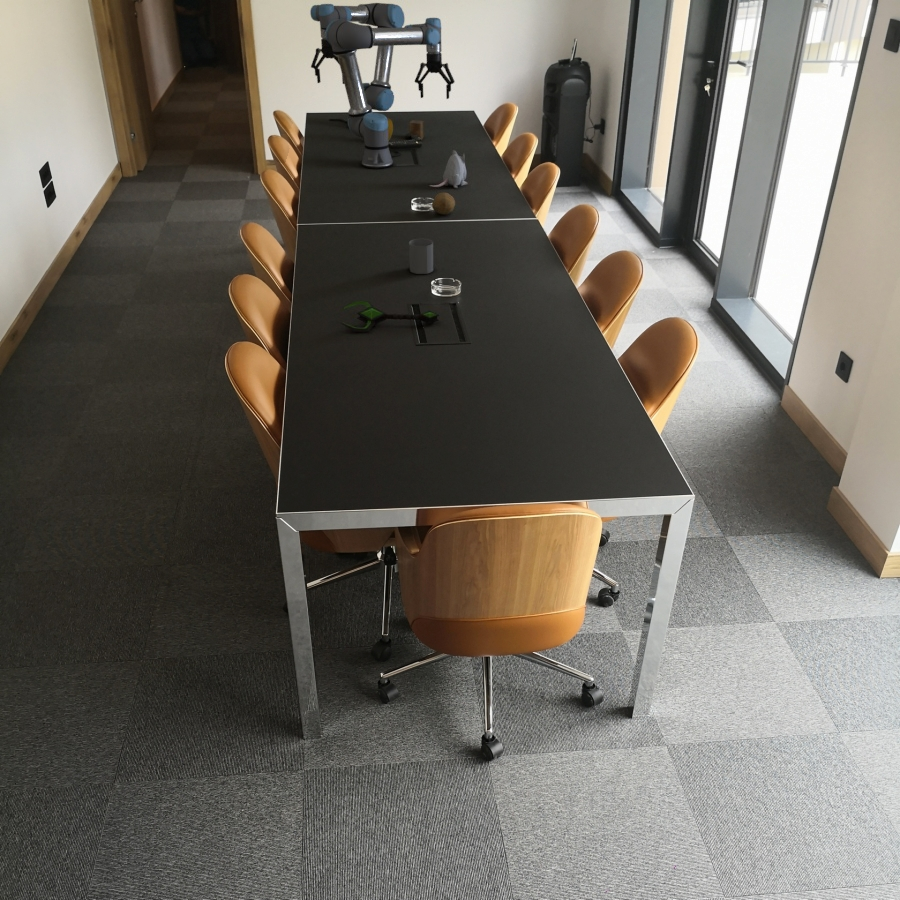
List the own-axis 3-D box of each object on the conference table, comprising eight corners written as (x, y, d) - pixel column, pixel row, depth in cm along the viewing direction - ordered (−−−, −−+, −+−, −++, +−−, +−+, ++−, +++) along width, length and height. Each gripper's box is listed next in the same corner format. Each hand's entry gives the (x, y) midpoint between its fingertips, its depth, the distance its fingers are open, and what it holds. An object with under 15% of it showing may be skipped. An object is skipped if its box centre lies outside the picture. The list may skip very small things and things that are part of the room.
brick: (409, 140, 472) (409, 122, 467) (412, 137, 477) (412, 120, 473) (420, 140, 471) (420, 123, 466) (423, 137, 476) (423, 120, 472)
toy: (472, 184, 399) (472, 151, 391) (436, 195, 384) (436, 161, 376) (457, 180, 404) (458, 147, 396) (422, 191, 389) (421, 157, 381)
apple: (392, 144, 462) (391, 119, 455) (372, 144, 462) (371, 119, 455) (394, 139, 471) (393, 115, 464) (374, 139, 471) (373, 115, 464)
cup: (409, 265, 311) (408, 238, 306) (432, 265, 312) (431, 238, 307) (410, 274, 304) (409, 246, 299) (433, 273, 305) (433, 246, 299)
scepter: (438, 296, 270) (341, 293, 268) (439, 326, 263) (340, 324, 261) (437, 309, 275) (342, 306, 273) (438, 339, 268) (341, 337, 266)
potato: (453, 208, 369) (453, 189, 365) (456, 218, 357) (456, 199, 353) (431, 208, 368) (430, 189, 364) (432, 218, 356) (432, 199, 352)
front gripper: (407, 53, 430) (409, 98, 441) (456, 54, 424) (457, 100, 436) (411, 50, 436) (413, 95, 447) (460, 52, 431) (460, 97, 442)
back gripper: (302, 38, 438) (306, 83, 450) (350, 40, 434) (352, 85, 446) (307, 36, 445) (311, 80, 456) (354, 38, 440) (356, 82, 452)
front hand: (434, 98), depth 442 cm, fingers open, 13 cm apart
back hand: (331, 83), depth 451 cm, fingers open, 13 cm apart
